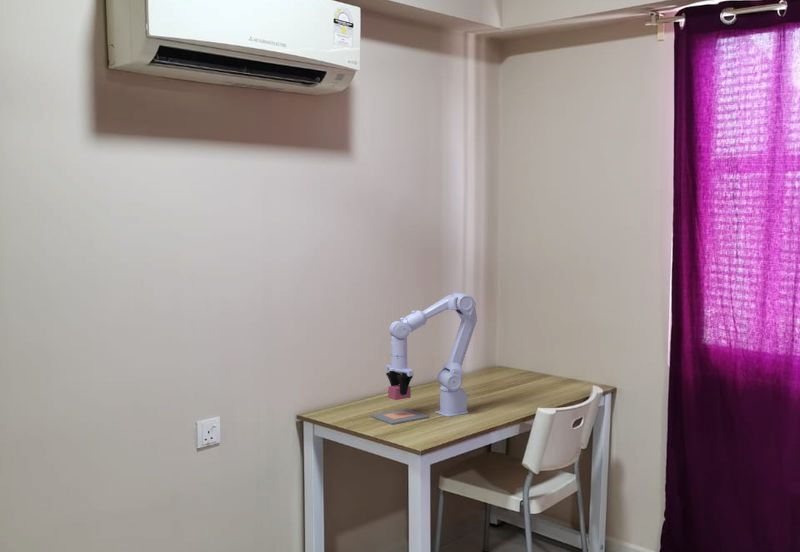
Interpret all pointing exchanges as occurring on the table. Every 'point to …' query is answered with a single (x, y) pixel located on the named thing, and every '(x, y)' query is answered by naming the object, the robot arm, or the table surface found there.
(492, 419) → the table surface
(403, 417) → the mat
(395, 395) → the pink rectangular block
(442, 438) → the table surface
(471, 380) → the table surface
